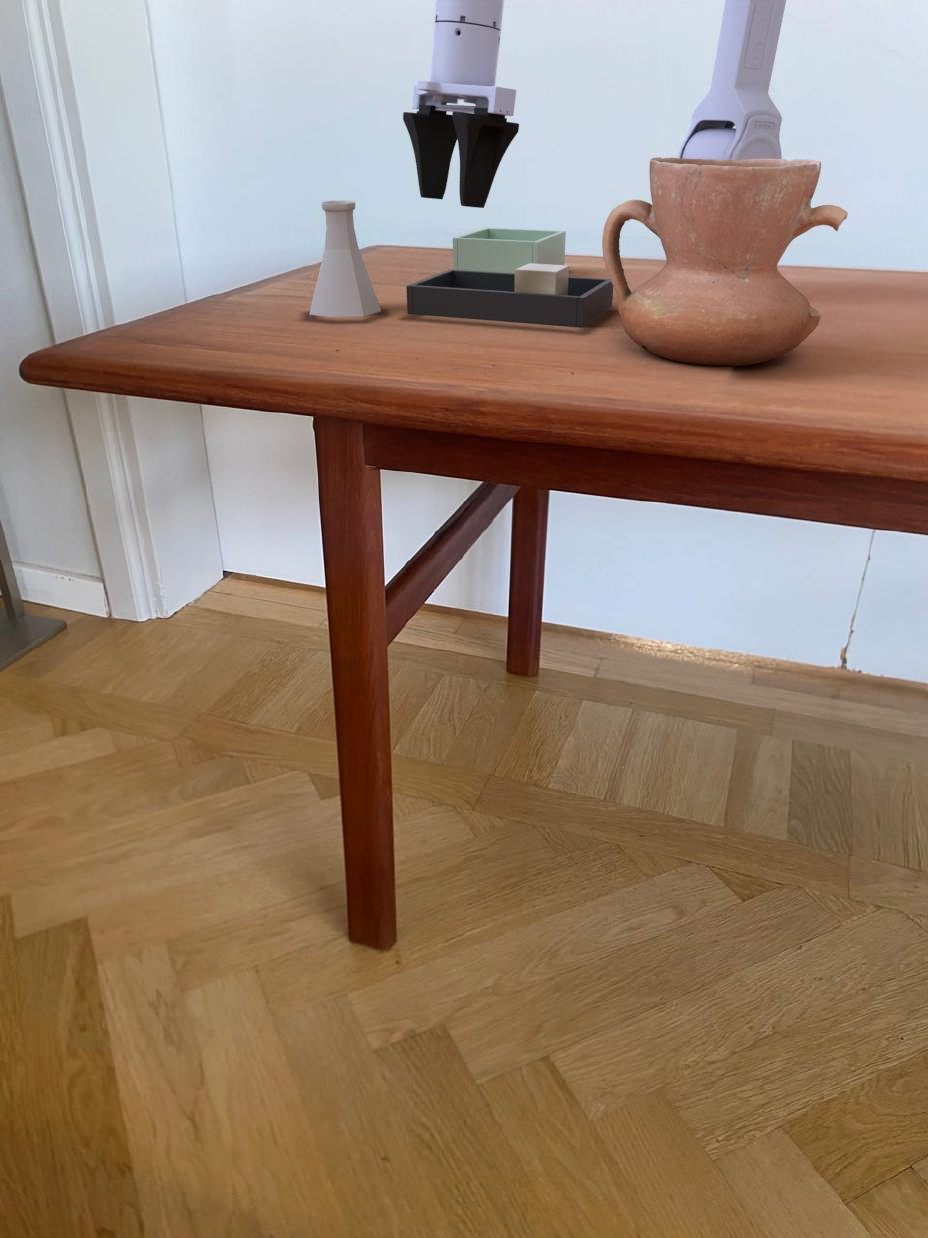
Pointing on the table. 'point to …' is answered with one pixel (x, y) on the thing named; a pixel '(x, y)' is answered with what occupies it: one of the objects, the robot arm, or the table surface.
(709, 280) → the ceramic jug
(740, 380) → the table surface
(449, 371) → the table surface
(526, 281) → the block
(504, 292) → the pan
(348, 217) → the flask
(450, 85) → the robot arm
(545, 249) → the bin
